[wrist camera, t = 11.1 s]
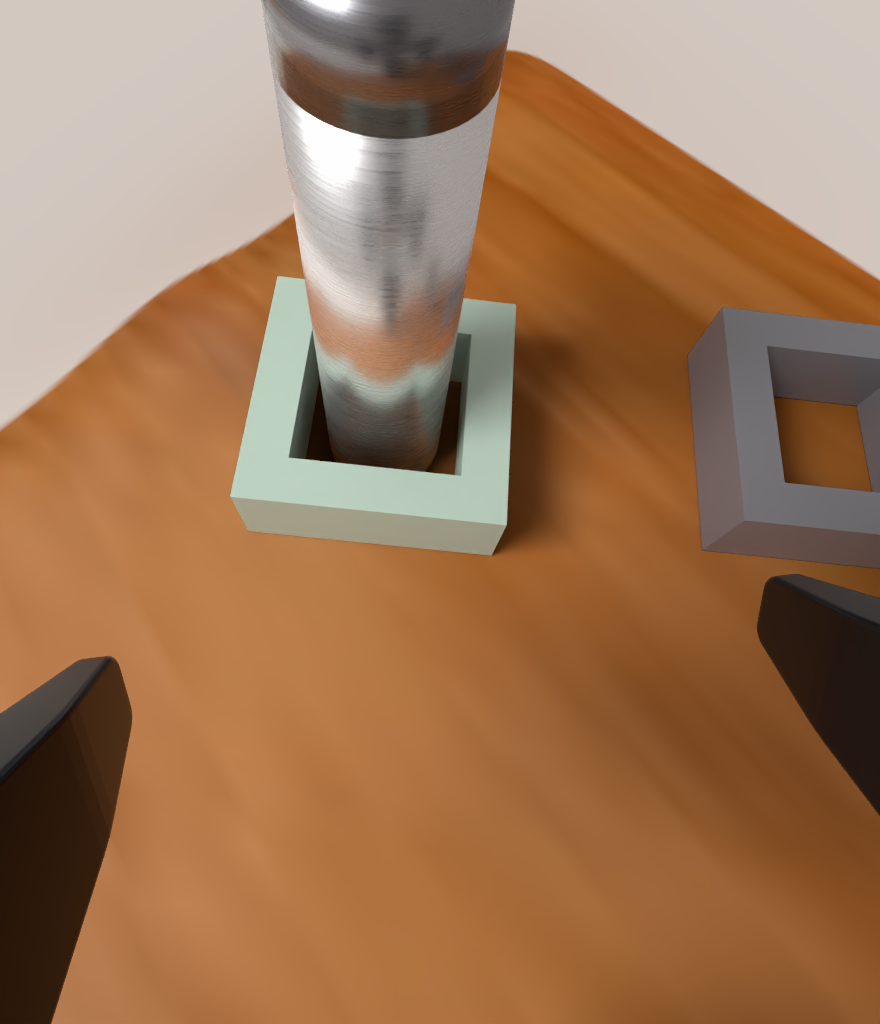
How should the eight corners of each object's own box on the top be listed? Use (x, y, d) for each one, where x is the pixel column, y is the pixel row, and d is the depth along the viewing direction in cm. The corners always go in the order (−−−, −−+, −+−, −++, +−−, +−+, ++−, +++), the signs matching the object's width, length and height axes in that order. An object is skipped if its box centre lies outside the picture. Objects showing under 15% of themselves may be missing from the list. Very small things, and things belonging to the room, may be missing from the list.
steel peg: (457, 460, 24) (577, -32, 10) (359, 505, 23) (321, 35, 9) (407, 376, 25) (443, -180, 11) (311, 415, 24) (205, -135, 10)
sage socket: (491, 555, 23) (506, 525, 20) (248, 530, 23) (230, 496, 20) (501, 354, 26) (516, 304, 23) (288, 330, 26) (277, 276, 23)
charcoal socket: (926, 573, 24) (997, 546, 21) (702, 550, 24) (744, 520, 21) (885, 378, 27) (942, 333, 25) (687, 355, 27) (722, 307, 24)
